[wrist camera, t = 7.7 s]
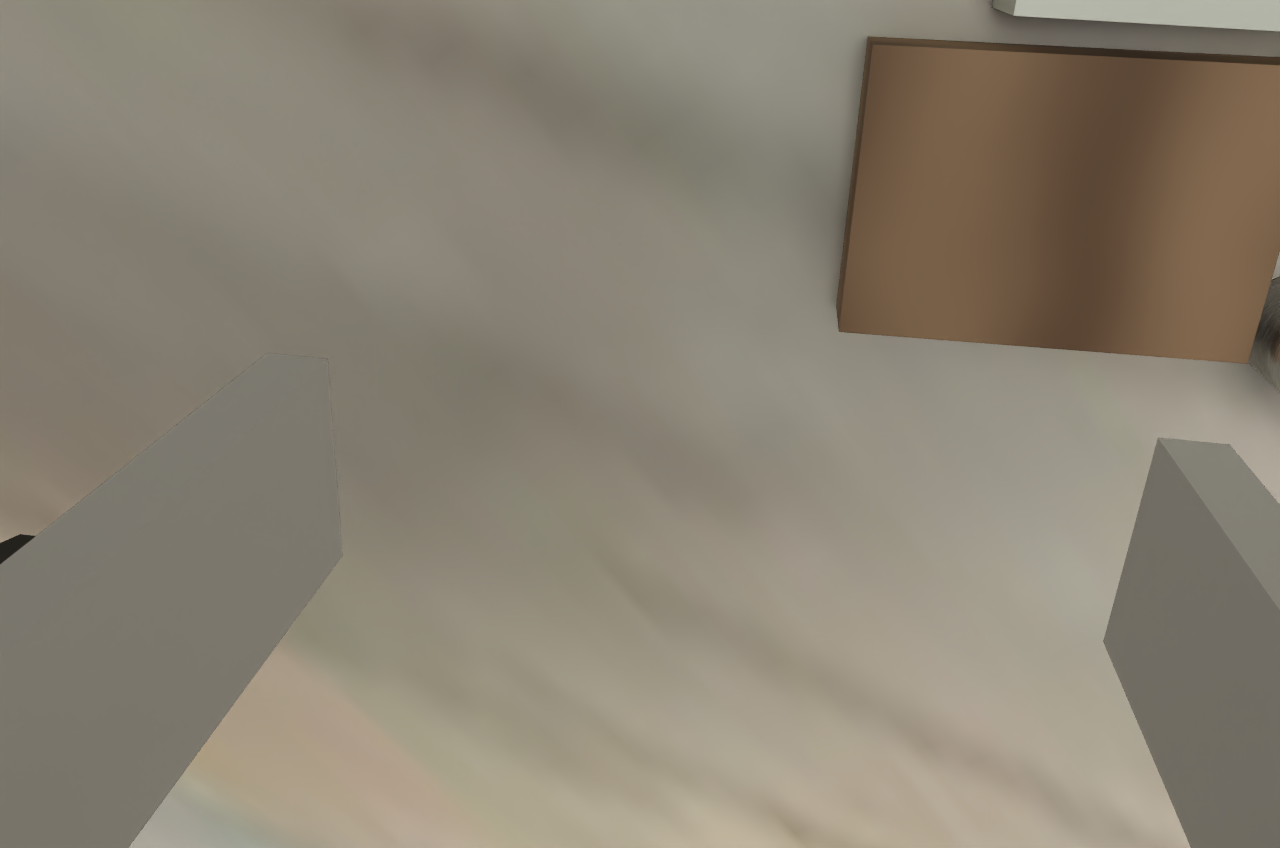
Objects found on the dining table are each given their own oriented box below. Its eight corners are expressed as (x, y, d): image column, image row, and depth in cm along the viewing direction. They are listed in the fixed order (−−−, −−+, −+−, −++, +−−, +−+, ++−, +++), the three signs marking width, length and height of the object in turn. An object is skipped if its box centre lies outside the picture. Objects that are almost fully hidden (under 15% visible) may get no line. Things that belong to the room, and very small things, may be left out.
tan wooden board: (835, 301, 30) (838, 331, 28) (867, 35, 28) (873, 44, 25) (1212, 330, 29) (1247, 363, 27) (1286, 55, 27) (1331, 67, 24)
